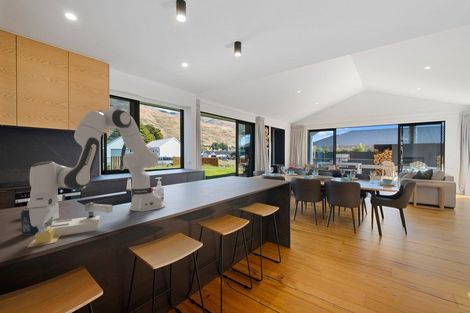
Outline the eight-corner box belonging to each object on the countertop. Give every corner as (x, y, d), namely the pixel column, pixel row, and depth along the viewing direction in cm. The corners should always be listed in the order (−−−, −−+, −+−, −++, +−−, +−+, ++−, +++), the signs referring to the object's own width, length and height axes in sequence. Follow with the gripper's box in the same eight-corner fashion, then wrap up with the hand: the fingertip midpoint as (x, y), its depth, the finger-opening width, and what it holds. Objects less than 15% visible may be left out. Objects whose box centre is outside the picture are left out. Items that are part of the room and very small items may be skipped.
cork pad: (61, 235, 97) (61, 234, 97) (55, 242, 89) (55, 242, 89) (35, 239, 93) (35, 238, 93) (27, 247, 85) (27, 246, 85)
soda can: (41, 228, 105) (40, 205, 105) (41, 232, 100) (40, 208, 99) (22, 232, 100) (21, 208, 100) (21, 237, 95) (20, 211, 95)
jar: (36, 223, 113) (35, 201, 113) (39, 218, 120) (39, 198, 120) (57, 219, 118) (57, 199, 118) (59, 216, 125) (59, 196, 124)
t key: (89, 215, 113) (89, 202, 112) (113, 217, 109) (112, 203, 109) (84, 217, 110) (84, 203, 110) (108, 219, 107) (108, 205, 106)
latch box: (100, 222, 114) (100, 214, 114) (97, 230, 103) (97, 220, 103) (53, 229, 105) (53, 220, 104) (45, 238, 94) (45, 228, 94)
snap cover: (54, 236, 94) (54, 227, 94) (50, 241, 90) (50, 230, 90) (39, 239, 92) (39, 228, 92) (35, 243, 88) (35, 233, 87)
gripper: (43, 194, 98) (44, 222, 99) (25, 205, 80) (27, 239, 81) (60, 193, 101) (61, 220, 102) (46, 203, 83) (47, 236, 84)
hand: (46, 229), depth 91 cm, fingers open, 8 cm apart
